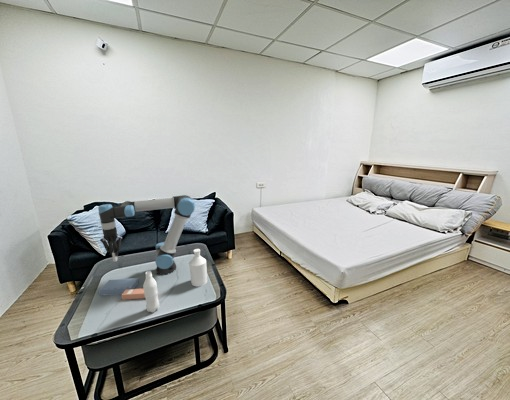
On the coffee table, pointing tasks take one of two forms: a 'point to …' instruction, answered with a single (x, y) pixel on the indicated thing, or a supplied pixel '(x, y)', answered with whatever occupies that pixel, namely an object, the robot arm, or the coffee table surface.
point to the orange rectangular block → (133, 294)
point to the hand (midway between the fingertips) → (115, 260)
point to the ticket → (118, 286)
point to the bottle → (198, 269)
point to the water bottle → (151, 293)
